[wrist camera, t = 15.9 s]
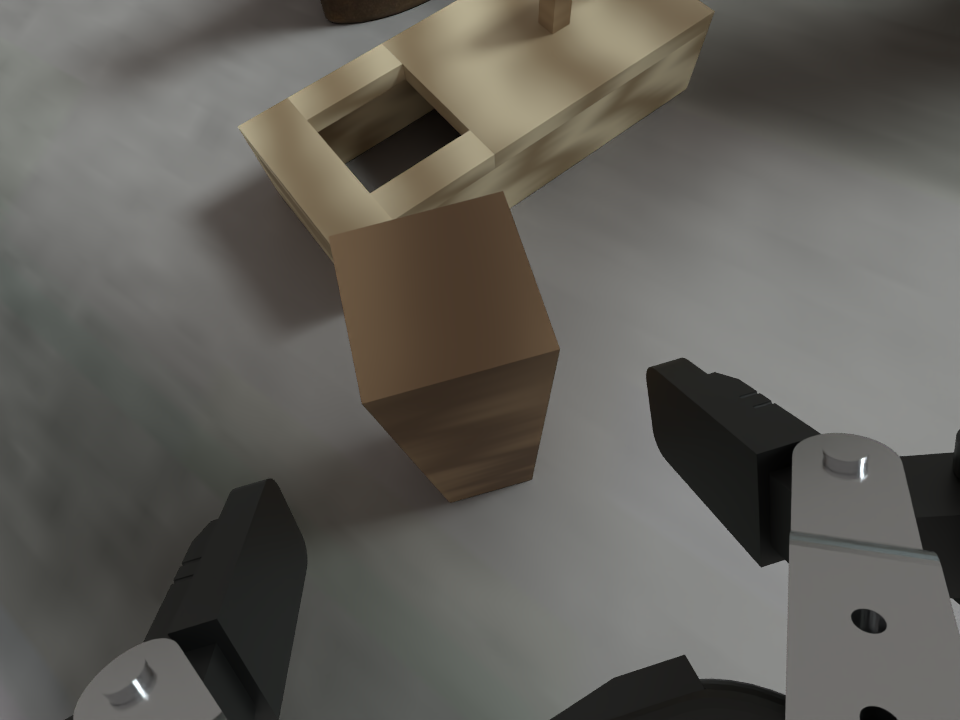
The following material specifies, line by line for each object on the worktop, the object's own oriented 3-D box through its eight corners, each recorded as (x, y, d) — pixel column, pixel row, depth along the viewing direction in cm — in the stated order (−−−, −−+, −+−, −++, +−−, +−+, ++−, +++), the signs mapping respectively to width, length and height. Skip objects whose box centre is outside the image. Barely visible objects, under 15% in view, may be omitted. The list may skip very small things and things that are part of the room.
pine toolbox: (579, 5, 37) (602, -180, 28) (686, 88, 34) (751, -91, 25) (276, 190, 33) (185, 41, 23) (366, 305, 29) (301, 185, 20)
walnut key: (507, 401, 27) (503, 190, 12) (532, 479, 26) (559, 349, 11) (430, 422, 27) (328, 236, 12) (449, 503, 25) (361, 404, 10)
